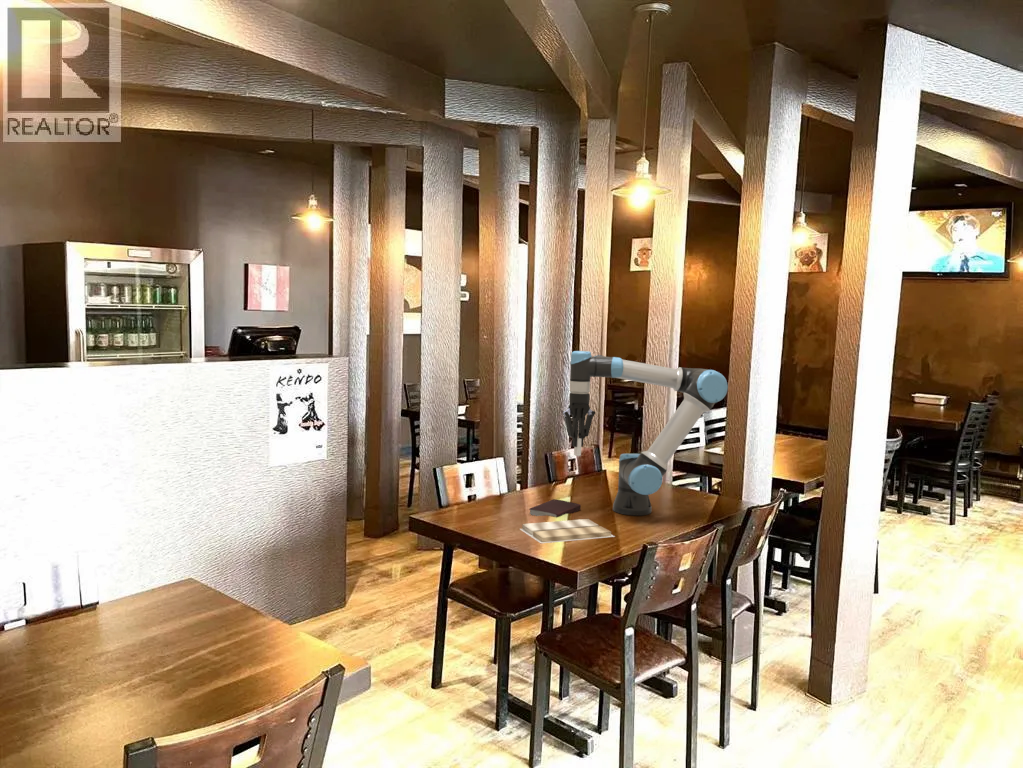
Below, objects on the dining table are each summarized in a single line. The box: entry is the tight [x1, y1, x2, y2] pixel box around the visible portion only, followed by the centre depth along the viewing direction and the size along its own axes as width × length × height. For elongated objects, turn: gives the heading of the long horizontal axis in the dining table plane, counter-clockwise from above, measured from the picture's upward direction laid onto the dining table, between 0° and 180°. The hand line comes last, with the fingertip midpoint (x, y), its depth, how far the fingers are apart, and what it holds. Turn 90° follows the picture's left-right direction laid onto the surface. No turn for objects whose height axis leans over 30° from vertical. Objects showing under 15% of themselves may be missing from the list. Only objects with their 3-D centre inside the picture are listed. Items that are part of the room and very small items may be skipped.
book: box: [528, 499, 582, 518], centre depth 293 cm, size 12×19×3 cm, turn 147°
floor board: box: [519, 528, 616, 544], centre depth 261 cm, size 28×18×1 cm, turn 112°
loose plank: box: [521, 518, 600, 535], centre depth 265 cm, size 26×8×2 cm, turn 112°
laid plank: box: [533, 525, 612, 542], centre depth 257 cm, size 26×8×2 cm, turn 112°
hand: (577, 455), depth 281 cm, fingers closed
